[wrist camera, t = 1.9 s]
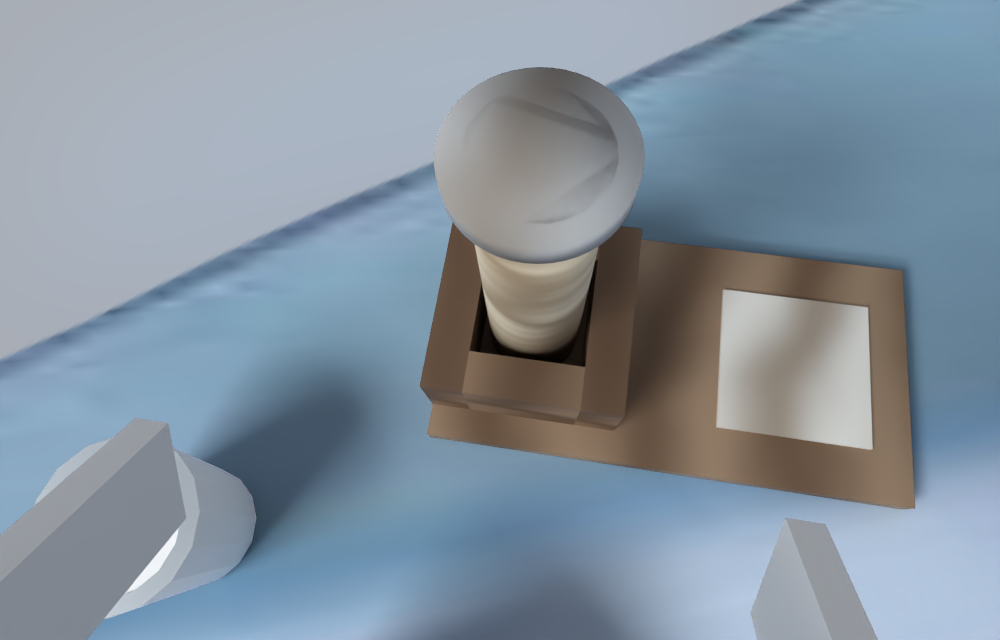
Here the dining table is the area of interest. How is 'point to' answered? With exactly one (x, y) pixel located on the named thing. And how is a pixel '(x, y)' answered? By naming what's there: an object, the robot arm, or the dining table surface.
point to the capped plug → (538, 197)
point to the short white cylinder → (188, 530)
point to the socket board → (695, 371)
